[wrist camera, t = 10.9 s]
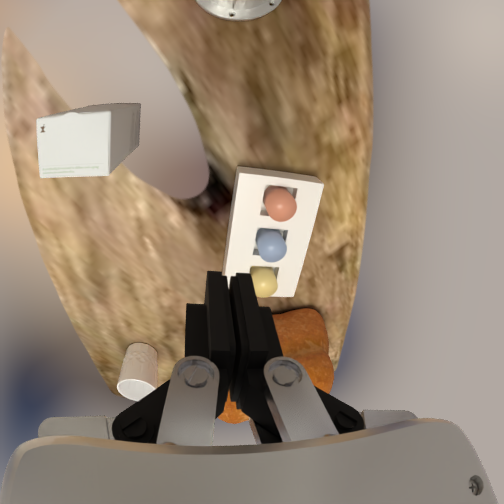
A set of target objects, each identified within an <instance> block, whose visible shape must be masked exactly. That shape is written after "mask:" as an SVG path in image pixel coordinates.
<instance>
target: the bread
mask: <svg viewBox="0 0 504 504" xmlns="http://www.w3.org/2000/svg"><path fill="white" fill-rule="evenodd" d="M272 316H273V320H274V323H275V327H276V331H277V334H278V338H279V342H280V345H281V349H282V352H283V356H284V357H289V358H292V359H294V360H297V361H298V362H299V363H301V364H302V365H303V367H304V368H305V370H306V371H307V373H308V375H309V377H310V379H311V381H312V383H313V385H314V386H316V387H317V388H319V389H321V390H323V391H324V392H326V393H328V394H329V393H330V391H331V388H332V384H333V380H334V370H333V365H332V362H331V360H330V357H329V356H328V351H329V342H328V335H327V331H326V328H325V324H324V321H323V318H322V316H321V315H320V314H319V313H318V312H317V311H316V310H313V309H308V308H304V309H298V310H292V311H289V312H286V313H283V314H275V315H272ZM218 418H219V419H221V420H223V421H225V422H227V423H233V424H236V423H240V422H243V421H246V420H249V417H248V416H247V415H246V414H244V413H243V412H242V411H241V409H237V408H236V402H231V400H230V393H229V392H228V398H227V402H225V407H224V412H223V413H222V414H221V415H220V416H218Z"/></svg>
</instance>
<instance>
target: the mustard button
mask: <svg viewBox="0 0 504 504" xmlns="http://www.w3.org/2000/svg"><path fill="white" fill-rule="evenodd" d="M249 273H250V274H251V276H252V280H253V284H254V289H255V293H256V296H258V297H262V298H265V297H269V296H271V295H273V294H274V293H275V292H276V291H277V288H278V283H277V280H276V277H275V274H274V271H273V269H272V267H265V266H252V267H251V268H250V271H249Z"/></svg>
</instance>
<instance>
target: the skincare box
mask: <svg viewBox="0 0 504 504" xmlns="http://www.w3.org/2000/svg"><path fill="white" fill-rule="evenodd" d="M140 108H141V104H140V103H116V104H102V105H92V106H87V107H83V108H78V109H73V110H69V111H65V112H61V113H56V114H52V115H49V116H45V117H41V118H38V119H37V120H36V122H37V145H38V159H39V172H40V178H56V177H85V176H109V174H110V173H111V172H112V171H113V170H114V169H115V168H116V167H117V166H118V165H119V164H120V163H121V162H122V161H123V160H124V159H125V158H126V157H127V156H128V155H129V154H130V153H132V152H133V151H134V150H135V149H136V148H137V147H138V146H139V130H140Z"/></svg>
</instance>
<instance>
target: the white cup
mask: <svg viewBox="0 0 504 504" xmlns="http://www.w3.org/2000/svg"><path fill="white" fill-rule="evenodd" d="M157 382H158V364H157V352H156V350H155V349H154V348H153V347H151V346H150V345H148V344H144V343H133V344H131V345H129V347H128V348H127V350H126V354H125V357H124V360H123V364H122V368H121V372H120V376H119V380H118V385H117V389H118V391H119V392H120V393H121V394H122V395H123V396H125V397H126V398H128V399H131V400H135V401H139V400H141V399H142V398H144V397H145V396H147V395H148V394H149V393H151V392H152V391H154V390H155V389H157Z"/></svg>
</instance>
